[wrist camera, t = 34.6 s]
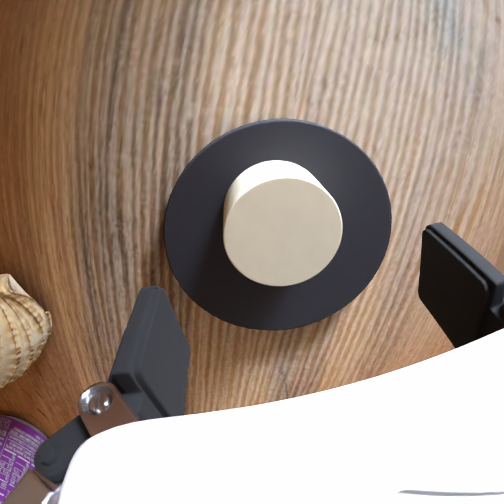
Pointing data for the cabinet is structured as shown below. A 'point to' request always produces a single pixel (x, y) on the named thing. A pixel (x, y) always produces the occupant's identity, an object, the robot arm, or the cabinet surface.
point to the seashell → (20, 330)
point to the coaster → (211, 225)
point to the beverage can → (16, 451)
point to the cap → (280, 224)
